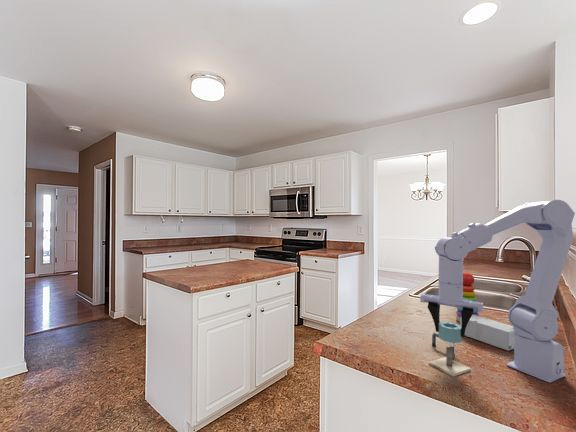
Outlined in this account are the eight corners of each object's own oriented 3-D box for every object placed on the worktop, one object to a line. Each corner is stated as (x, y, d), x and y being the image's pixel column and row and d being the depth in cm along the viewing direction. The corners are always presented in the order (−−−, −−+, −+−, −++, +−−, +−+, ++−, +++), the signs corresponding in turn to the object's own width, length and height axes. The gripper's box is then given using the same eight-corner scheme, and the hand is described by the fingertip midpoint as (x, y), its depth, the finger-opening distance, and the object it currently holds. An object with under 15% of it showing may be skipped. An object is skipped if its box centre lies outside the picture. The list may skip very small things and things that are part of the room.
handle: (465, 358, 83) (465, 344, 83) (452, 362, 81) (452, 347, 81) (433, 344, 92) (433, 331, 92) (421, 347, 90) (421, 334, 90)
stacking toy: (473, 318, 117) (473, 271, 117) (484, 326, 109) (484, 275, 109) (452, 317, 118) (452, 270, 118) (461, 325, 110) (462, 274, 110)
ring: (462, 337, 79) (462, 324, 79) (460, 344, 75) (460, 330, 75) (440, 333, 82) (440, 320, 82) (437, 339, 78) (437, 326, 78)
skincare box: (472, 314, 104) (522, 326, 91) (472, 331, 104) (522, 346, 91) (459, 317, 100) (510, 331, 87) (458, 335, 100) (510, 351, 87)
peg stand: (470, 370, 76) (470, 351, 76) (453, 376, 73) (453, 356, 73) (445, 358, 82) (445, 340, 82) (428, 364, 79) (428, 345, 79)
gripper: (483, 283, 78) (483, 335, 78) (424, 276, 86) (423, 323, 86) (482, 288, 72) (482, 344, 72) (418, 280, 81) (418, 330, 80)
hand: (450, 333), depth 79 cm, fingers closed on ring, 5 cm apart
